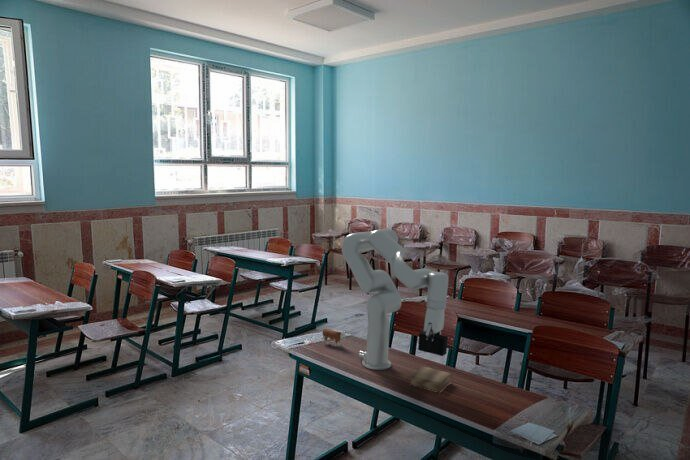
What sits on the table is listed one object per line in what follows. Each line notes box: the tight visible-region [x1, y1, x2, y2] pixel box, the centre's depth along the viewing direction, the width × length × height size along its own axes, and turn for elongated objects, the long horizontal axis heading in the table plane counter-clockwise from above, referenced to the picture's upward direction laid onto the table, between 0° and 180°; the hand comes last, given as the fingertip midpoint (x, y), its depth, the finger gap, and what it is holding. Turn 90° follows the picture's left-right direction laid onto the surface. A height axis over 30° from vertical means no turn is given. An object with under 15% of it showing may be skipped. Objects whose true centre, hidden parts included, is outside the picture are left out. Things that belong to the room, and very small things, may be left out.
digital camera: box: [417, 330, 449, 357], centre depth 194 cm, size 10×5×7 cm, turn 58°
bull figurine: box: [322, 328, 347, 348], centre depth 236 cm, size 4×13×8 cm, turn 57°
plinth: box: [409, 366, 452, 392], centre depth 196 cm, size 13×13×4 cm
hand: (433, 347), depth 195 cm, fingers closed on digital camera, 5 cm apart
